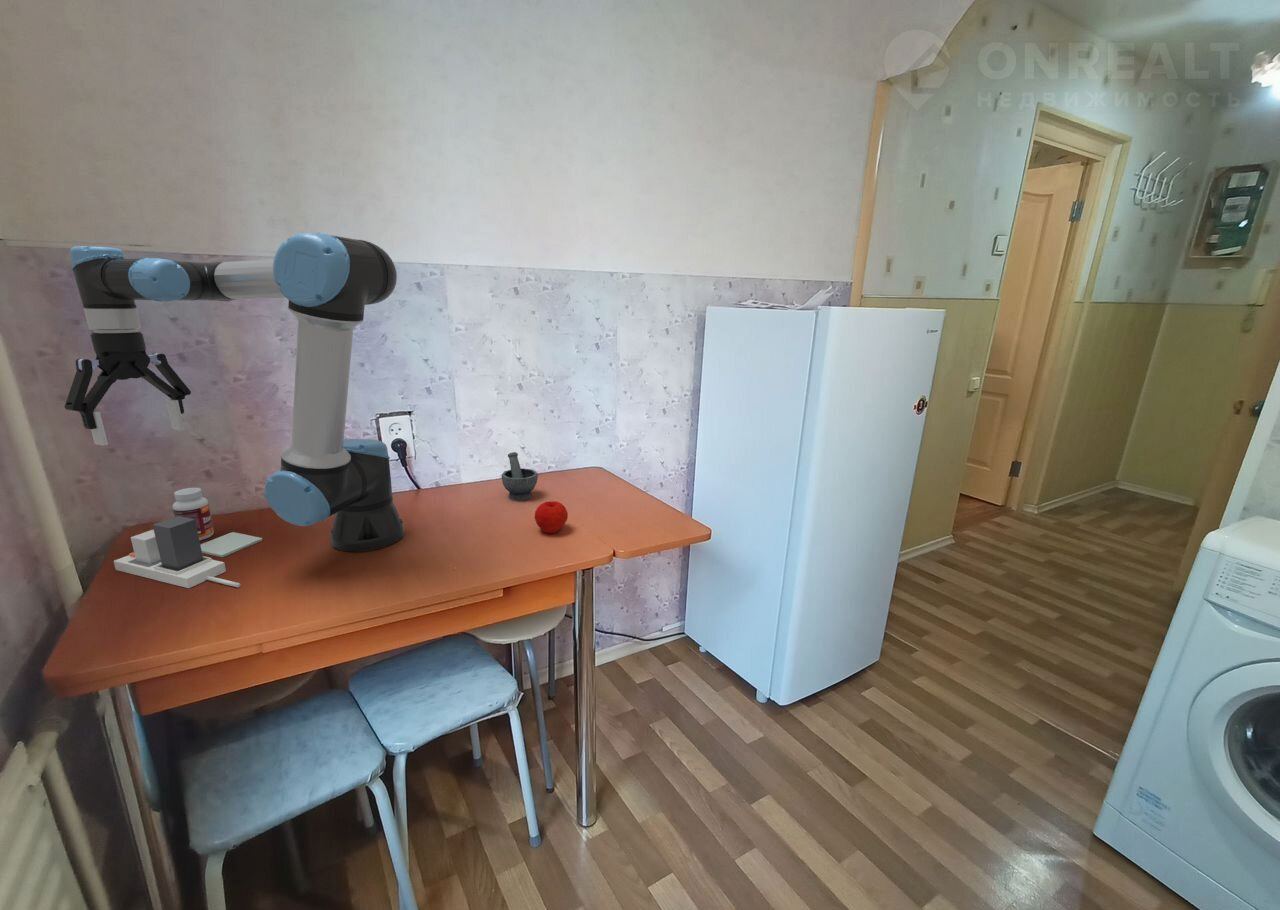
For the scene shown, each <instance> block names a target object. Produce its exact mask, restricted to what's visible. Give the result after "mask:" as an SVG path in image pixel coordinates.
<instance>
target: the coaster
mask: <svg viewBox="0 0 1280 910" xmlns="http://www.w3.org/2000/svg"><path fill="white" fill-rule="evenodd" d="M262 541H263V537H259V536H253V535H249V534H244V533H240V532H234V531H232V532H229V533H227V534H224V535H221V536H219V537H216V538H214V539H211V540H209V541H205V542H203V543H200V546H201V550H202V554H205V555H210V556H214V557H219V558H224V557H226V556H229V555H231V554H233V553H236V552H237V551H241V550H243V549H246V548H248V547H250V546H253V545H255V544H257V543H259V542H262Z"/></svg>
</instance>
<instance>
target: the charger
mask: <svg viewBox="0 0 1280 910" xmlns="http://www.w3.org/2000/svg"><path fill="white" fill-rule="evenodd" d="M152 527H153V529H154V533H155V538H156V542H157V546H158V550H159V554H160V559H161V563H162V567H163V568H166V569H170V570H174V571H180V570H182V569H185V568H187V567H189V566H192V565H194V564H197V563H199V562H201V561H204V560H203V556H204V555H203V553H202V550H201V546H200V545H201V540H199V536H198V531H197V527H196V522H195V519H190V518H185V517H180V516H177V517H171V518H169V519H164V520H162V521H159V522H156V523H153V524H152ZM153 529H152V530H153Z"/></svg>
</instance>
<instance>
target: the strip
mask: <svg viewBox="0 0 1280 910" xmlns="http://www.w3.org/2000/svg"><path fill="white" fill-rule="evenodd" d="M130 540H131V544H132V548H133V552H130V553H128V555H126V556H123V557H121V558H117V559H115V560H113V564H114V568H115V570H116V571H119V572H121V573H127V574H131V575H135V576H139V577H143V578H147V579H151V580H154V581H158V582H162V583H166V584H170V585H174V586H178V587H181V588H182V587H183V588H185V589H190V588H192V587H195V586H197V585H199V584H201V583H204V582H206V581H209V582H213V583H218V584H222V585H226V586H231V587H234V588H240V587H241V583H240V582H236V581H231V580H227V579H224V578H221V577H220V578H219V577H216V576H219V575H221V574H223V573H226V572H227V569H226V565H225V561H224V562H223V561H219V560H215V559H212V557H209V556H204V555H203V560H204V561H201V562H199V563H197V564H194V565H192V566H189V567H187V568H185V569H182V570H180V571H174V570H170V569H166V568H163V567H162V563H161V559H160V554H159V550H158V546H157V542H156V538H155V533H154V529H150V530H147V531H145V532H142V533H140V534H136V535H134V536H133V535H132V536H131V537H130Z"/></svg>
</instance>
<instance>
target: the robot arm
mask: <svg viewBox="0 0 1280 910" xmlns="http://www.w3.org/2000/svg"><path fill="white" fill-rule="evenodd" d="M69 255H70V260H71V264H72V266H71V270H72V272H73V274H74V279H75V283H76V286H77V289H78V293H79V297H80V300H81V303H82V308H83V312H84V316H85V319H86V323H87V328H88V330H91V331H93V332H91V334H90V335H89V336H90V341H91V343H92V347H93V350H94V353H95V354H96V355H95V356H96V357H95V359H88V358H87V359H86V358H77V359H76V360H75V368H76V372H75V374H74V377H73V381H72V383H71V387H70V389H69V391H68V395H67V398H66V401H65V403H64V409H65V410H68V411H73V412H74V411H75V412H78V413H80V415H81V416H80V417H81V420H82V424H83V427H84V428H85V429H86V430H90V433H91V436H92V440H93V444H94V445H97V446H108V445H109V442H108V439H107V435H106V430H105V427H104V424H103V423H104V422H103V419H102V414H101V411H96V410H95V409H96V408H97V406H98V405H99V403H101V401H102V399H103V397H105V395H106V394H107V392H108V390H109V389H110V388H111V386H112V385H113V384H114V383H116V381H117V380H118V381H124V380H130V379H143V380H145V381H146V382H147V383H149V384H151V385H152V386H153V387H154V388H156V389H157V390H158V391H160V392H161V393H163V394H164V395H165V396H167V397H168V398H169V399H165V403H166V404H165V405H166V409H167V412H168V416H169V417H168V418H169V421H170V425H171V430H175V431H185V426H184V421H183V417H182V414H185V409H184V403H183V400H185V398H186V396H189V395H191V393H192V392H191V389H189V387H188V386H187V385H186V384H185V383H184V381H183V380H182V379H181V378H180V376H179V375H178V374H177V372H176V371H175V370H174V369H173V368H172V366H171V365H170V364H169V362H168V359H167V356H166V354H164V353H159V352H158V353H157V352H153V353H152V354H149V355H148V354H147V352H146V351H147V347H146V343H145V339H144V334H143V333H142V332H141V331H139V330H141V329H142V325H141V320H140V316H139V312H138V308H137V304H136V301H153V302H161V303H162V302H173V301H192V302H193V301H211V302H212V301H214V302H215V301H217V302H231V301H237V300H254V299H283V298H284V299H285V298H286V299H287V300H288V307H287V308H288V310H289V311H290V313H292V315H293V316H294V317H295V318H296V319H297V333H296V335H297V336H296V352H295V354H296V355H295V372H294V391H293V392H294V393H293V407H292V408H293V409H292V425H291V426H292V429H291V430H292V431H291V444H290V445H288V446H287V447H286V448H284V449H283V450H282V451H281V454H280V457H281V458H280V470H277V471H274V472H273V473H272V474H271V475H270V476H269V477H268V478H267V479H266V481H265V484H264V495H265V499H266V501H267V503H268V505H269V507H270V508H271V510H273V511H274V512H275V513H276V516H278V517H280V518H281V519H282V520H283V521H285V522H286V523H289V524H291V525H295V526H297V527H298V526H300V527H308V526H311V525H314V524H317V523H318V522H323V521H325V520H327V519H329V517H331V516H332V515H333V516H334V517H333V522H332V529H331V530H330V533H329V534H330V544H331V546H332V547H333V548H335V549H336V550H339V551H342V552H352V553H353V552H354V553H355V552H368V551H374V550H379V549H381V548H385V547H388V546H391V545H393V544H395V543H397V542H398V541H401V539H402V538H403V537H404V535H405V524H404V522H403V520H402V519H401V517H400V515H399V512H398V510H397V508H396V506H395V503H394V499H393V498H394V497H393V488H392V476H391V467H390V459H391V458H390V456H389V451H388V446H387V444H386V443H384V442H383V441H381V440H379V439H369V438H349V439H348V438H346V439H345V431H346V429H345V428H346V419H347V416H346V415H347V403H348V397H349V396H348V394H349V383H350V382H349V381H350V371H351V370H350V369H351V357H352V348H353V347H352V346H353V335H354V329H355V328H356V327H357V326H359V325H361V323H363V322H364V317H365V307H366V305H367V306H369V305H374V304H378V303H381V302H383V301H385V300H386V299H388V298H389V297H390V296H391V295H392V293H393V292H394V290H395V288H396V285H397V279H398V274H397V270H396V269H397V268H396V265H395V264H394V261H393V259H392V258H391V257H390V255H389V254H388V253H387V252H386V251H385V250H384V249H383V248H381V247H380V246H379V245H376V244H375V243H373V242H371V241H367V240H363V239H356V238H354V239H353V238H350V237H344V236H339V235H338V236H337V235H332V234H330V233H329V234H328V233H321V232H299V233H296V234H294V235H290V237H289V238H287V239H286V240H284V241H283V242H282V243H281V244H280V245H279V247H278V248H277V250H276V252H275V255H274V258H271V259H258V260H257V259H256V260H254V259H253V260H241V261H240V260H237V261H236V260H234V261H215V262H197V261H195V262H194V261H193V262H192V261H182V260H171V259H165V258H161V257H160V258H159V257H155V258H154V257H144V258H140V257H139V258H126V255H125V253H124V251H123V250H121V249H120V248H116V247H111V246H110V247H108V246H107V247H106V246H94V245H93V246H85V245H75V246H73V247H71V248H70V250H69ZM150 364H152V365H154V366H155V367H156V369H157V370H158V371H159V372H160V375H162V377H164V379H165V380H166V381H167V382H168V383H169V384H168V383H167V382H165V380H163V379H162V378H160V377H159V376H158V375H157V374H156V373H155V372H154V371H152V370H151V369H150V368H148V367H149V365H150ZM96 368H99V369H100V370H101V372H100V373H99V375H98V376H97V378H96V381H95V383H93V386H92V387H91V388H90V390H89V386H90V383H91V380H92V376H93V373H94V371H96ZM88 390H89V391H88Z"/></svg>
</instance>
